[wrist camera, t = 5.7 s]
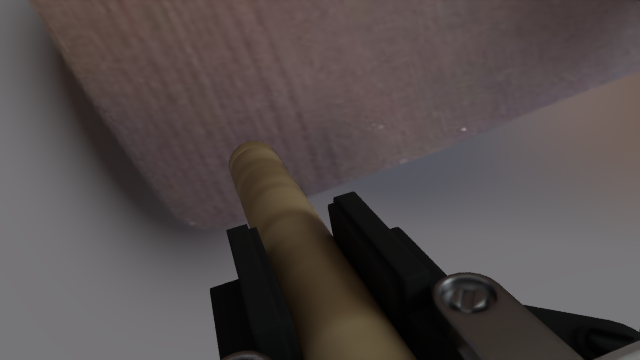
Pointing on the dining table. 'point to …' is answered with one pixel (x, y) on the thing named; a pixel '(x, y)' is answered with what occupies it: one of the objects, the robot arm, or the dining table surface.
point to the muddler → (311, 266)
